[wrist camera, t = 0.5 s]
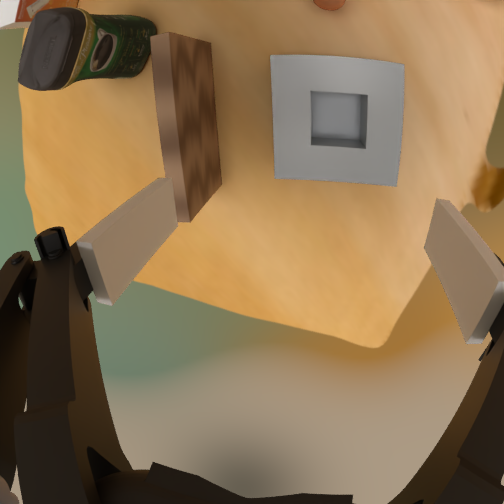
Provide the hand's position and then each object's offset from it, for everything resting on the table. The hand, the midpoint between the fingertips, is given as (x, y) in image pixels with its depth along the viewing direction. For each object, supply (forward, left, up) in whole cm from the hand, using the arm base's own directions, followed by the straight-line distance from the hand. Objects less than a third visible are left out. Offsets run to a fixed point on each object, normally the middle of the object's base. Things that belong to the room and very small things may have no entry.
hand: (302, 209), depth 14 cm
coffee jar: (-14, -24, -26) cm, 38 cm away
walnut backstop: (-2, -13, -26) cm, 29 cm away
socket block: (-2, +3, -25) cm, 26 cm away
